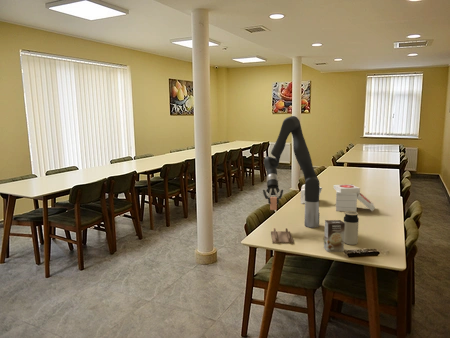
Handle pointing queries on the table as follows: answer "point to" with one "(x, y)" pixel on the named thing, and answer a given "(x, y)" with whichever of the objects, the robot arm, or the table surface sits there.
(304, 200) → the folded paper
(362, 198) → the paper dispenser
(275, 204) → the terracotta block
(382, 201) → the table surface
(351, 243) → the travel mug
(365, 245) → the table surface
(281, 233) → the walnut rack
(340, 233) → the coffee box
